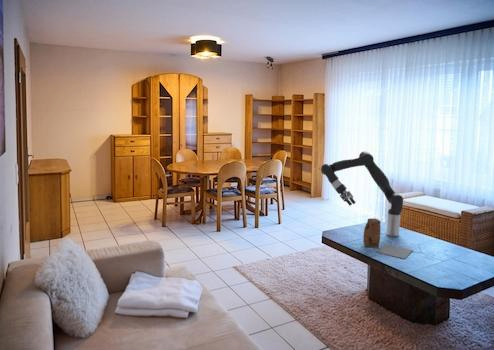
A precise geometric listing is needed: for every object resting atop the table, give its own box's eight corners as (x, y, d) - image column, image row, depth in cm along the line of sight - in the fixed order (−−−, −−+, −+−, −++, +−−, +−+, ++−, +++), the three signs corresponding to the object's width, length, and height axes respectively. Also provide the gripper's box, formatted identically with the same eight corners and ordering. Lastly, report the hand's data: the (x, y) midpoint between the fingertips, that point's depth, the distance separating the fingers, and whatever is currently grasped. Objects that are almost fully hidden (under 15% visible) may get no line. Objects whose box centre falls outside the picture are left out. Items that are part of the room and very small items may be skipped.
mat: (384, 244, 299) (384, 243, 299) (412, 251, 287) (412, 250, 287) (375, 252, 283) (375, 251, 283) (404, 259, 271) (404, 258, 271)
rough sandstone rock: (374, 243, 301) (376, 217, 298) (380, 246, 294) (382, 220, 291) (361, 244, 298) (363, 218, 294) (367, 248, 291) (369, 221, 287)
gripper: (338, 184, 298) (352, 203, 293) (346, 182, 310) (360, 199, 305) (331, 190, 302) (345, 208, 297) (339, 187, 314) (353, 205, 309)
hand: (352, 204), depth 301 cm, fingers open, 6 cm apart
